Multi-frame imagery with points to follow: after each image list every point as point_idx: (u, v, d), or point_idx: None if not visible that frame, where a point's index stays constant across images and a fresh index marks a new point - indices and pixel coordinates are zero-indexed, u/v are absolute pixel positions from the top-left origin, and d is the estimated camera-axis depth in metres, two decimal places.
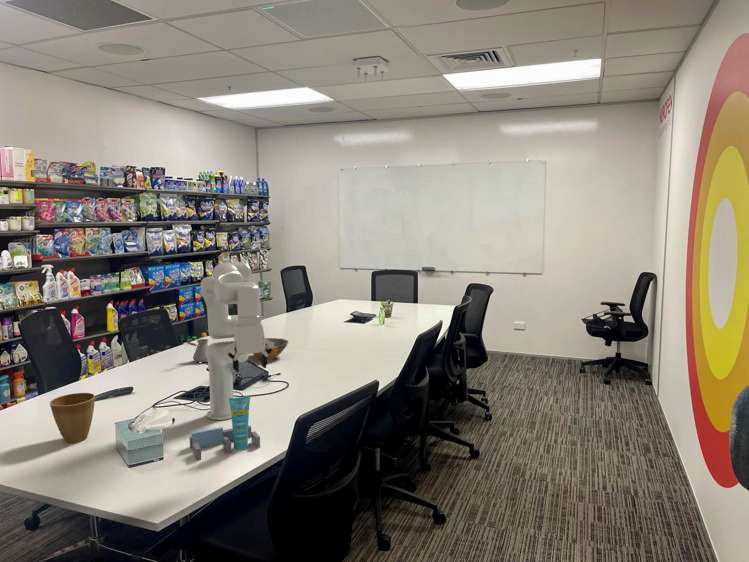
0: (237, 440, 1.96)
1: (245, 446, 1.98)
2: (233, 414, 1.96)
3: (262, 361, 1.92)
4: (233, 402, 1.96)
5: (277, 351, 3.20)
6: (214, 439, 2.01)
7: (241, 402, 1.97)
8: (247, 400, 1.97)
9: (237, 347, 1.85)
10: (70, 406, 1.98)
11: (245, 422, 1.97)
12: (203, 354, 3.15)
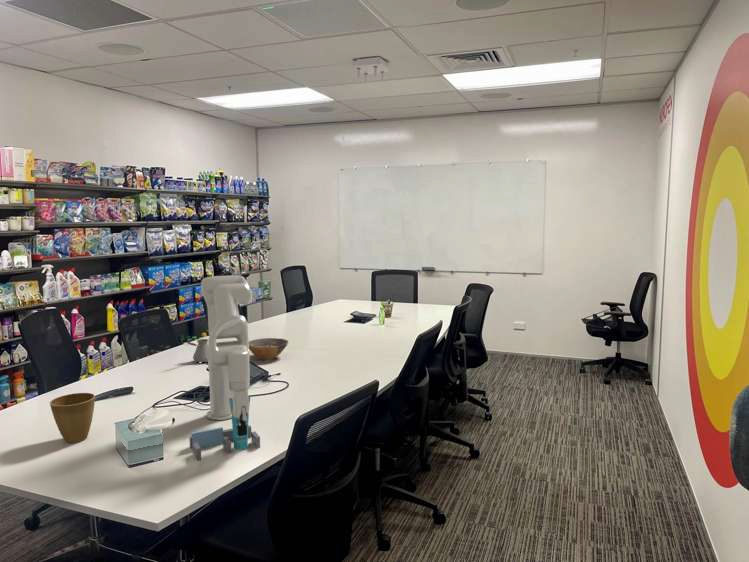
0: (237, 440, 1.96)
1: (245, 446, 1.98)
2: None
3: None
4: None
5: (277, 351, 3.20)
6: (214, 439, 2.01)
7: None
8: None
9: (248, 410, 1.94)
10: (70, 406, 1.98)
11: None
12: (203, 354, 3.15)
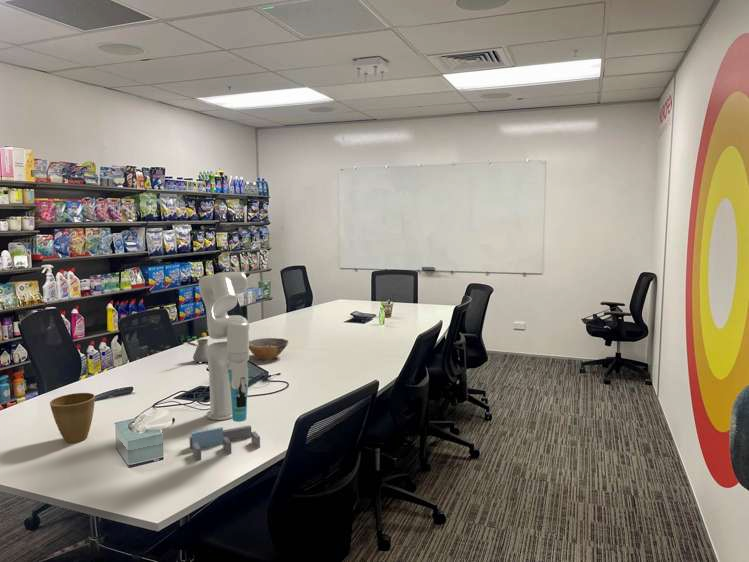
0: (236, 412, 1.96)
1: (244, 418, 1.97)
2: None
3: None
4: None
5: (277, 351, 3.20)
6: (214, 439, 2.01)
7: None
8: None
9: (247, 381, 1.93)
10: (70, 406, 1.98)
11: None
12: (203, 354, 3.15)
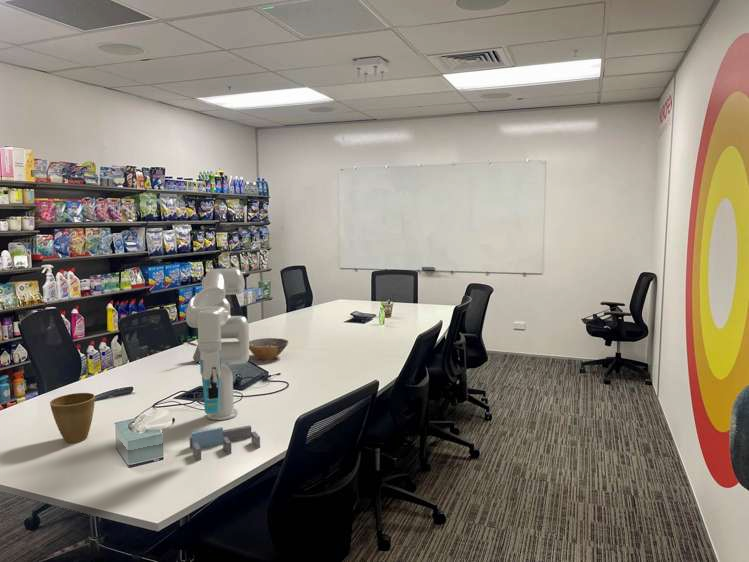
0: (208, 403, 1.90)
1: (216, 410, 1.91)
2: None
3: None
4: None
5: (277, 351, 3.20)
6: (214, 439, 2.01)
7: None
8: None
9: (219, 371, 1.87)
10: (70, 406, 1.98)
11: None
12: None
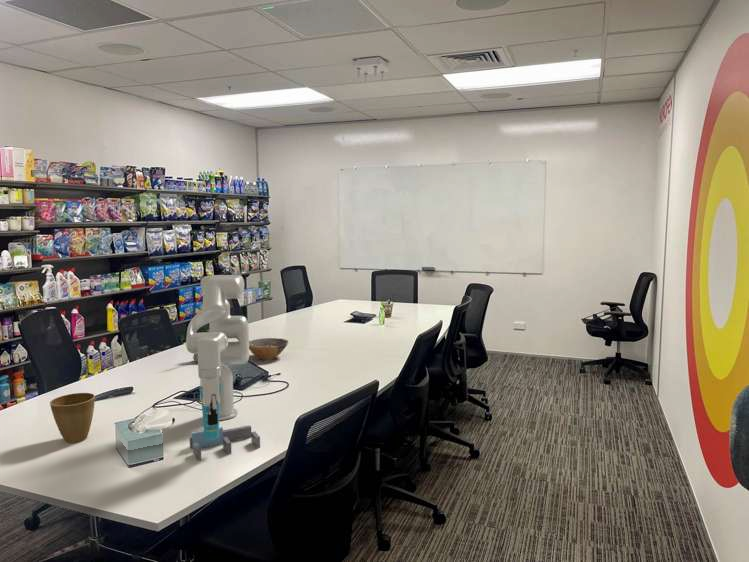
0: (208, 429, 1.90)
1: (216, 436, 1.92)
2: None
3: None
4: None
5: (277, 351, 3.20)
6: (214, 439, 2.01)
7: None
8: None
9: (218, 398, 1.88)
10: (70, 406, 1.98)
11: None
12: None
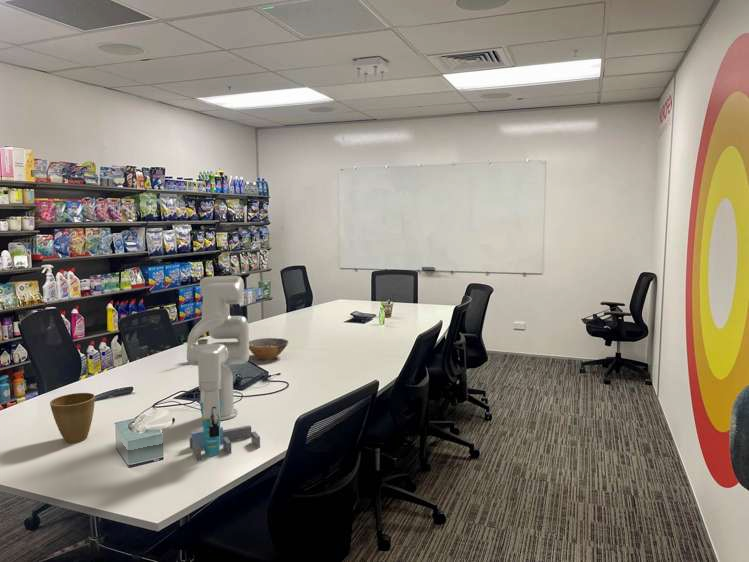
0: (208, 445, 1.91)
1: (217, 452, 1.93)
2: (204, 419, 1.91)
3: None
4: None
5: (277, 351, 3.20)
6: None
7: None
8: None
9: (219, 411, 1.89)
10: (70, 406, 1.98)
11: None
12: None
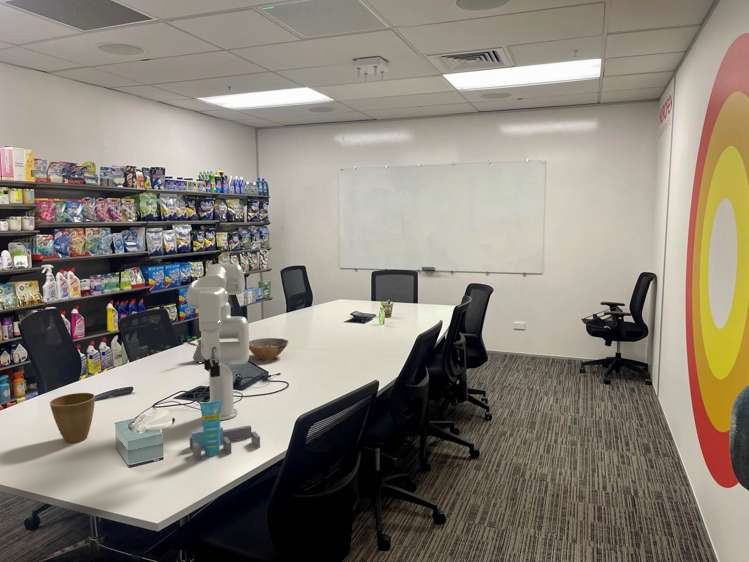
0: (208, 446, 1.91)
1: (217, 452, 1.93)
2: (204, 419, 1.91)
3: (208, 364, 1.97)
4: (204, 407, 1.91)
5: (277, 351, 3.20)
6: None
7: (212, 407, 1.92)
8: (218, 405, 1.92)
9: (219, 351, 1.89)
10: (70, 406, 1.98)
11: (216, 427, 1.92)
12: None
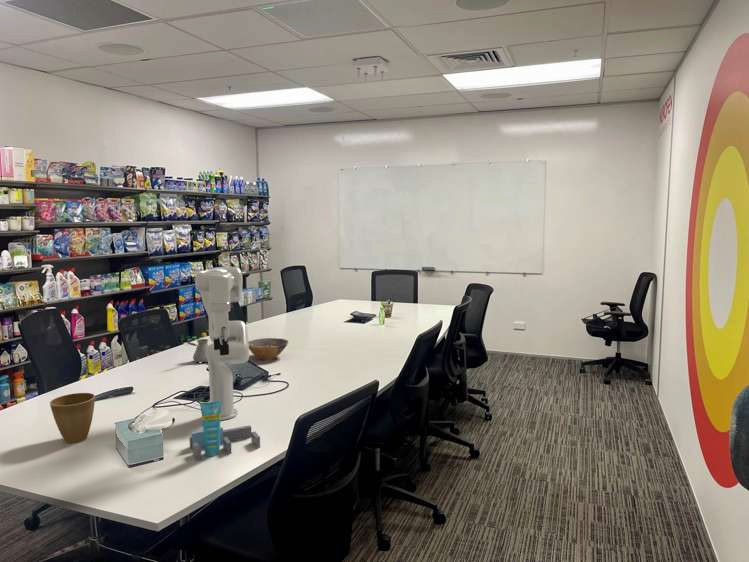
0: (208, 445, 1.91)
1: (217, 452, 1.93)
2: (204, 419, 1.91)
3: (217, 344, 2.08)
4: (204, 407, 1.91)
5: (277, 351, 3.20)
6: None
7: (212, 407, 1.92)
8: (218, 405, 1.92)
9: (228, 331, 2.01)
10: (70, 406, 1.98)
11: (216, 427, 1.92)
12: (203, 354, 3.15)
